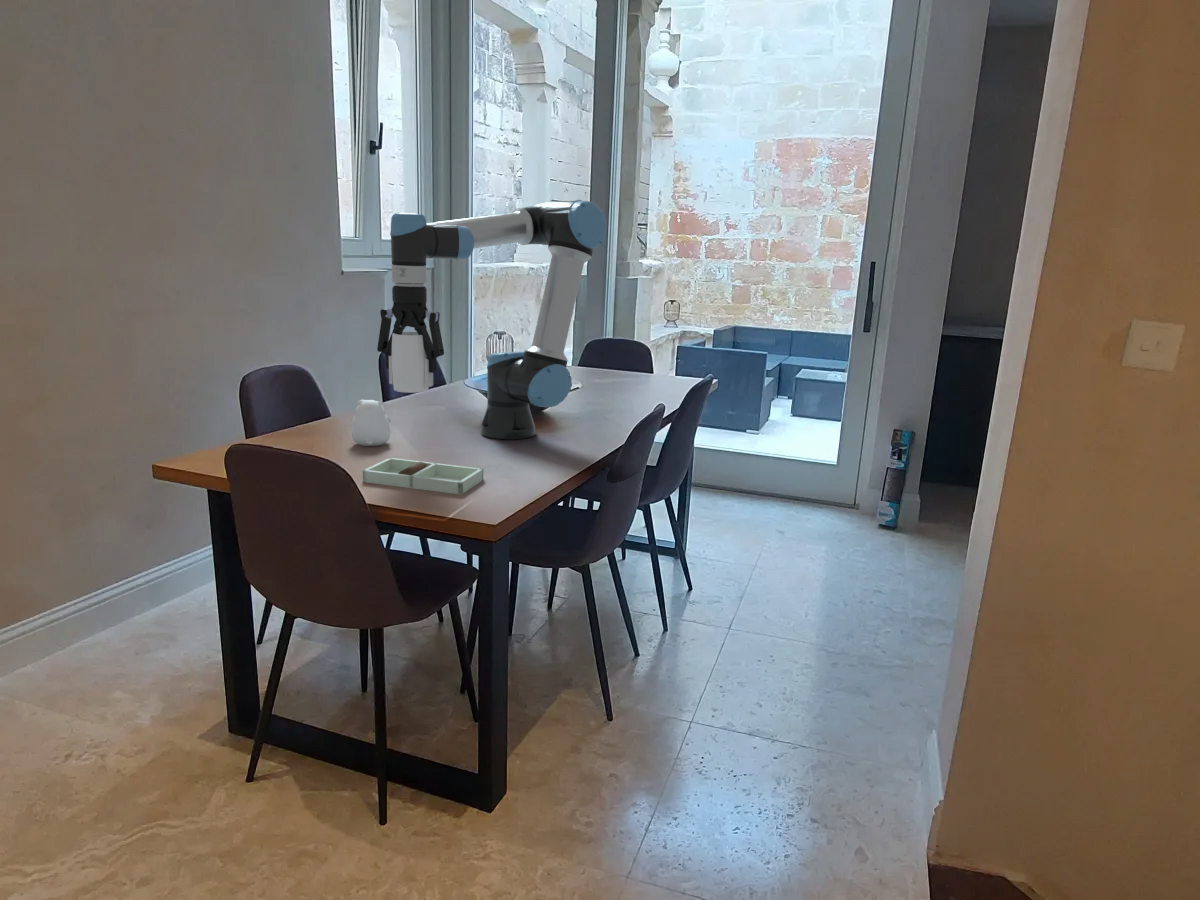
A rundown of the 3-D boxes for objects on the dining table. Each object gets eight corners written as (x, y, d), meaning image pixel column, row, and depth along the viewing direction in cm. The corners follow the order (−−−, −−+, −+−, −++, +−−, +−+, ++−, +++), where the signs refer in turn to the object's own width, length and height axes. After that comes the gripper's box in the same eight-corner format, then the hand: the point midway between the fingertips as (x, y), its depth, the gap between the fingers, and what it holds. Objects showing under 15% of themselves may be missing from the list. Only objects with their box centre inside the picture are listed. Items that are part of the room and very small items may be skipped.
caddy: (390, 470, 182) (389, 457, 181) (483, 481, 176) (483, 468, 175) (362, 483, 171) (362, 470, 170) (461, 496, 165) (461, 482, 165)
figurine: (389, 450, 199) (387, 403, 196) (348, 450, 197) (347, 403, 194) (392, 440, 208) (391, 396, 205) (354, 440, 207) (352, 395, 204)
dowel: (417, 459, 177) (428, 465, 177) (413, 471, 178) (424, 476, 178) (399, 468, 170) (411, 474, 169) (395, 480, 171) (407, 486, 170)
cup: (407, 390, 188) (406, 330, 185) (437, 393, 185) (436, 333, 181) (384, 395, 181) (383, 333, 177) (415, 399, 177) (414, 336, 174)
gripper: (358, 283, 176) (361, 383, 181) (444, 288, 170) (445, 391, 176) (376, 282, 183) (379, 378, 188) (459, 286, 177) (460, 386, 183)
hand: (411, 384), depth 182 cm, fingers closed on cup, 8 cm apart
